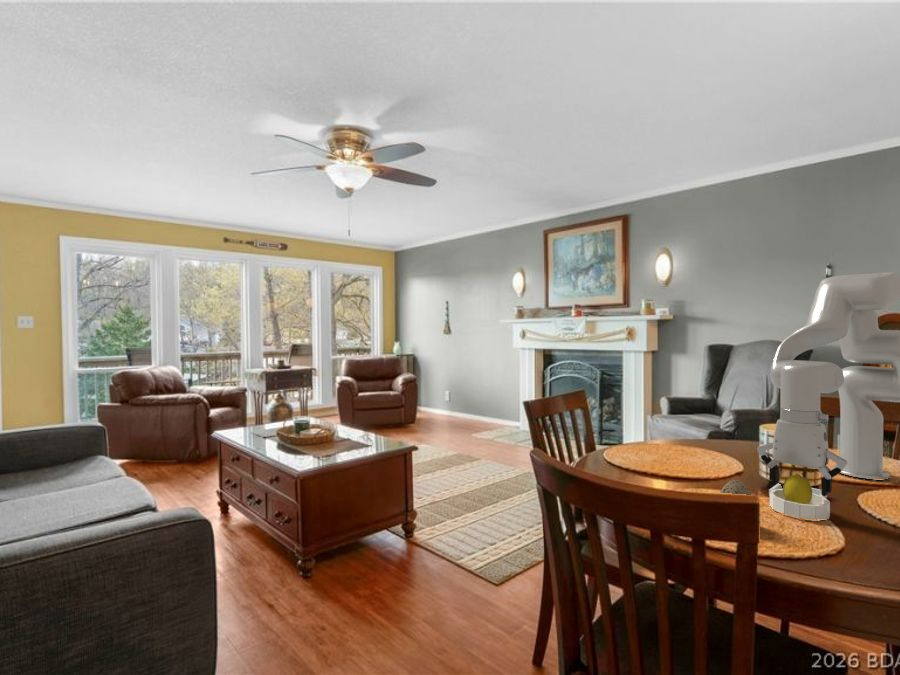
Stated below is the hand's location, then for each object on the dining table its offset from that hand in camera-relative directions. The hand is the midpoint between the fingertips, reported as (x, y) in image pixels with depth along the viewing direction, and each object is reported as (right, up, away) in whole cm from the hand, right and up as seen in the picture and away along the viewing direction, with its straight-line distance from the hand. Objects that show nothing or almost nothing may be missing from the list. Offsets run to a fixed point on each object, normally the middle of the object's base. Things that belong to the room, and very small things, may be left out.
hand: (799, 489), depth 111 cm
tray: (+7, -5, +10) cm, 13 cm away
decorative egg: (-19, -6, -7) cm, 21 cm away
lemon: (0, -5, 0) cm, 5 cm away
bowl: (0, -5, 0) cm, 5 cm away
